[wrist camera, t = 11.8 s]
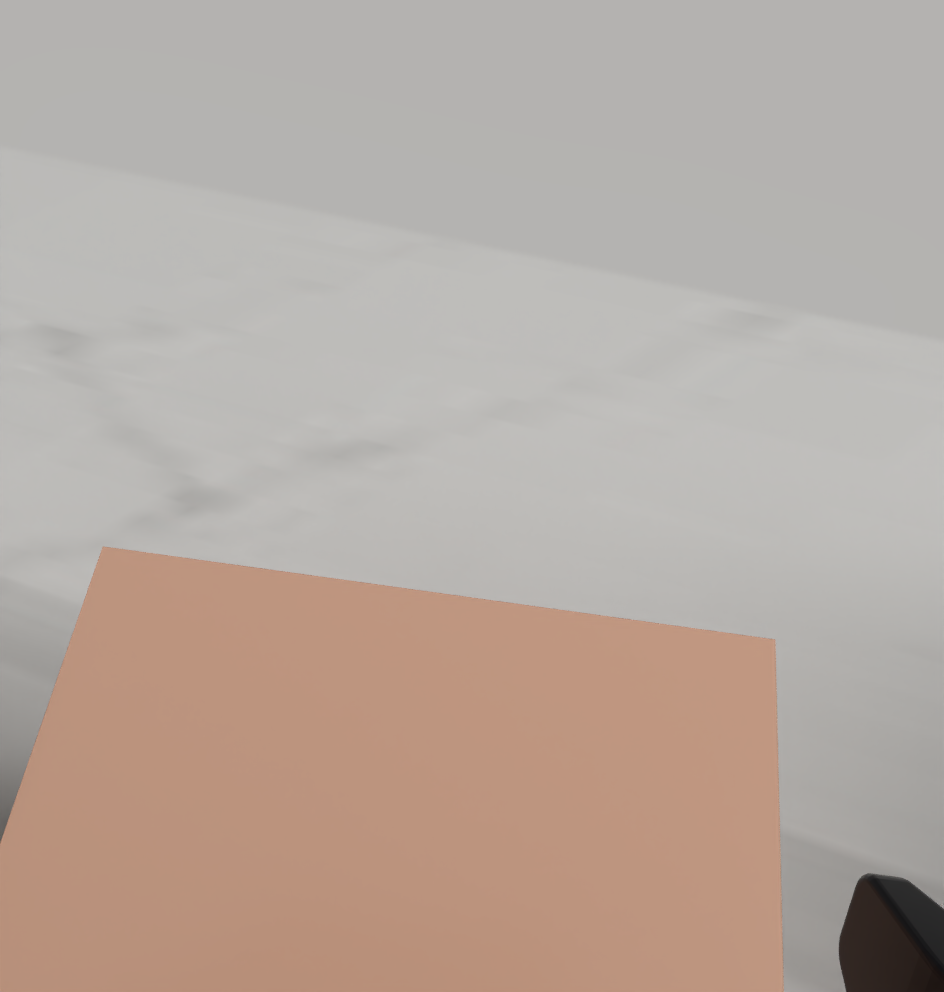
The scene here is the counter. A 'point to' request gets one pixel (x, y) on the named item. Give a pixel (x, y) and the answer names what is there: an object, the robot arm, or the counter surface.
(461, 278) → the counter surface
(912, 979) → the robot arm
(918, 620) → the counter surface
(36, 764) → the tan rectangular block
